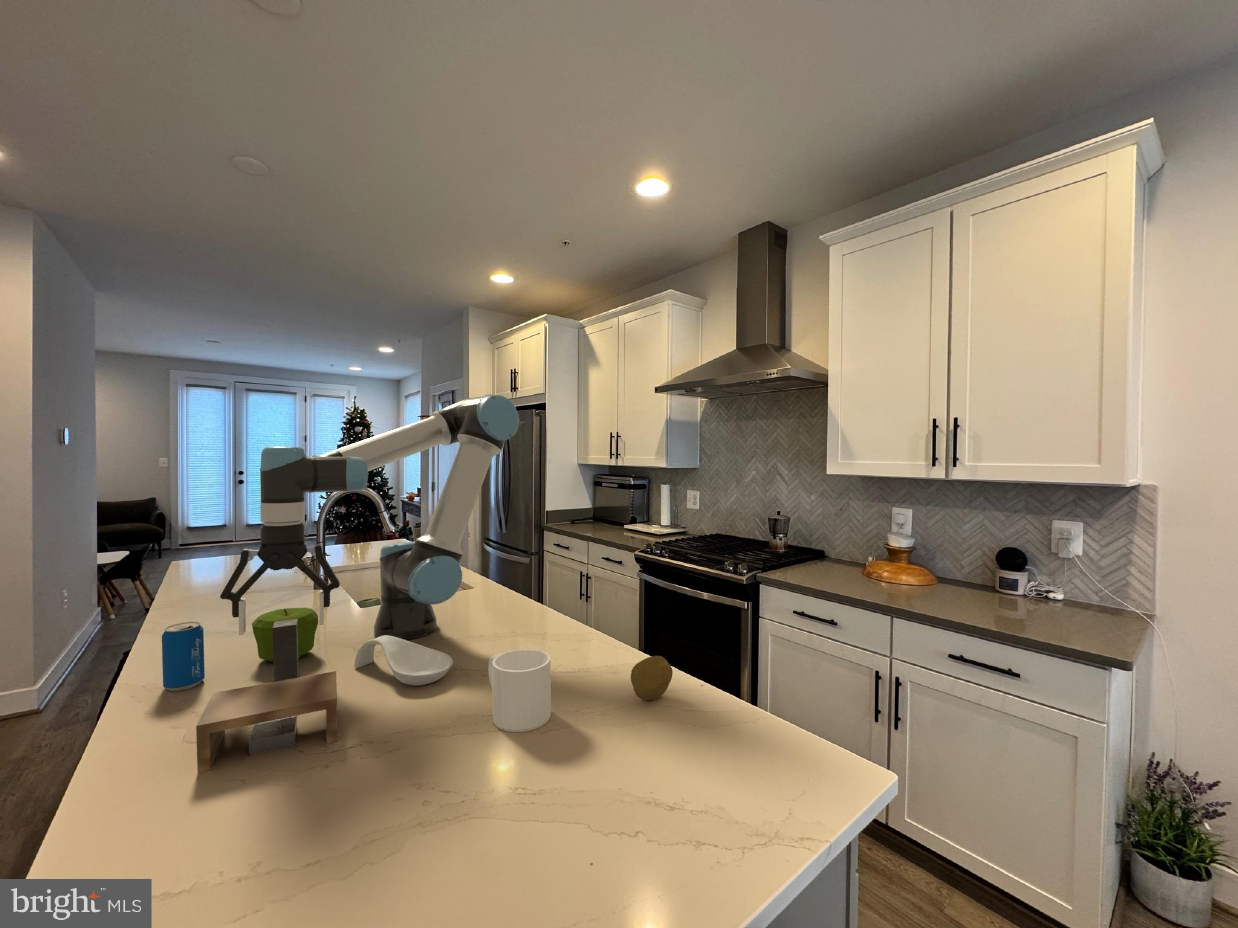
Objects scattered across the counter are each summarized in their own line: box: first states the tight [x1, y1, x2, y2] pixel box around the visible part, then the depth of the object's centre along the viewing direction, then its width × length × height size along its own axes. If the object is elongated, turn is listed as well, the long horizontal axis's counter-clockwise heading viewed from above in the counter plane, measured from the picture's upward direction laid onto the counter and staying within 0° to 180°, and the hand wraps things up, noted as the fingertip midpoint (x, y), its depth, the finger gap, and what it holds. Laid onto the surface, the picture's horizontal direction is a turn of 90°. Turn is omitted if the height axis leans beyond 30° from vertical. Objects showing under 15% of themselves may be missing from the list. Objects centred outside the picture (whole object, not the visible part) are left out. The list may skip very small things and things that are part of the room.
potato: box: [630, 655, 674, 702], centre depth 100 cm, size 7×8×8 cm
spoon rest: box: [353, 635, 454, 687], centre depth 111 cm, size 24×12×7 cm, turn 65°
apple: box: [251, 607, 319, 663], centre depth 121 cm, size 12×12×11 cm
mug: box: [487, 648, 552, 733], centre depth 94 cm, size 13×10×10 cm
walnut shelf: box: [195, 670, 338, 774], centre depth 87 cm, size 18×12×7 cm, turn 118°
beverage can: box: [161, 621, 206, 692], centre depth 106 cm, size 6×6×12 cm
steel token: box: [248, 715, 298, 756], centre depth 86 cm, size 6×6×2 cm
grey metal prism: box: [272, 619, 300, 682], centre depth 101 cm, size 5×20×12 cm, turn 28°
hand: (283, 627), depth 107 cm, fingers open, 13 cm apart
